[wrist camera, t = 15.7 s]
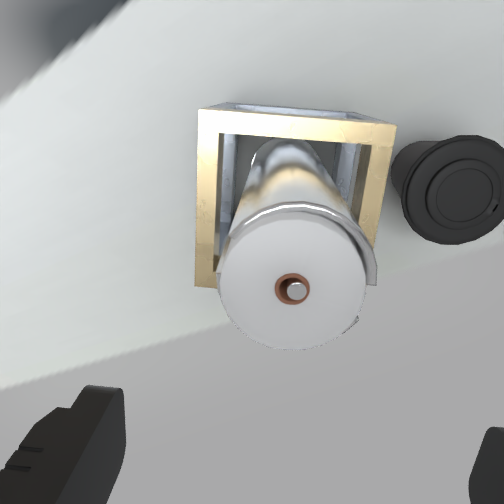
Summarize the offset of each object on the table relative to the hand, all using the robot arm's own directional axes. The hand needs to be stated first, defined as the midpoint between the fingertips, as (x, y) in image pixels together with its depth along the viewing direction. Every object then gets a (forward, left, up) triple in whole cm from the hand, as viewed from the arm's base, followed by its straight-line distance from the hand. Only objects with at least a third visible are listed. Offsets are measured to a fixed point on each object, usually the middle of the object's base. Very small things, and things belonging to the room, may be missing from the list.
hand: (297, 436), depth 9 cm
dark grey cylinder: (-13, -1, -32) cm, 35 cm away
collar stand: (0, 0, -32) cm, 32 cm away
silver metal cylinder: (0, 0, -32) cm, 32 cm away
